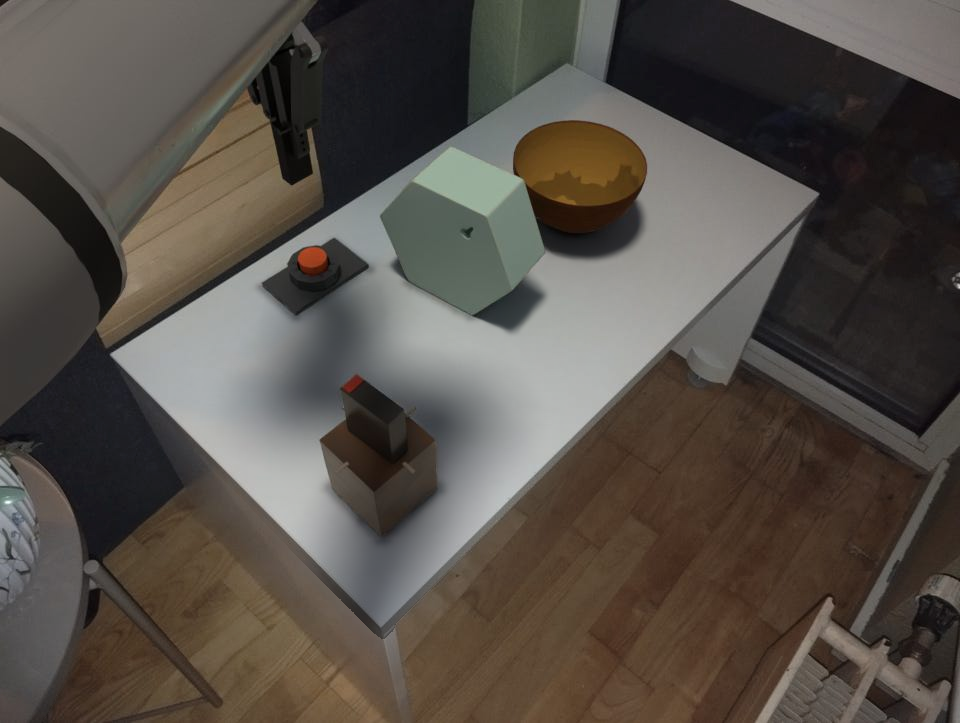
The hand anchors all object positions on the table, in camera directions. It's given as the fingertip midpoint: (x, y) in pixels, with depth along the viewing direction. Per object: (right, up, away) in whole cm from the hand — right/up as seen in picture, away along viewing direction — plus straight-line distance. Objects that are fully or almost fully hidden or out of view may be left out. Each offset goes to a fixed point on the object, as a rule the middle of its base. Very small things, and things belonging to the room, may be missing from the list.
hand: (297, 176), depth 77 cm
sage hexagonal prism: (+16, -8, +24) cm, 30 cm away
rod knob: (+8, -26, -3) cm, 28 cm away
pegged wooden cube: (+8, -32, +5) cm, 34 cm away
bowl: (+31, +2, +32) cm, 45 cm away
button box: (-3, -8, +23) cm, 25 cm away
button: (-3, -6, +22) cm, 23 cm away
